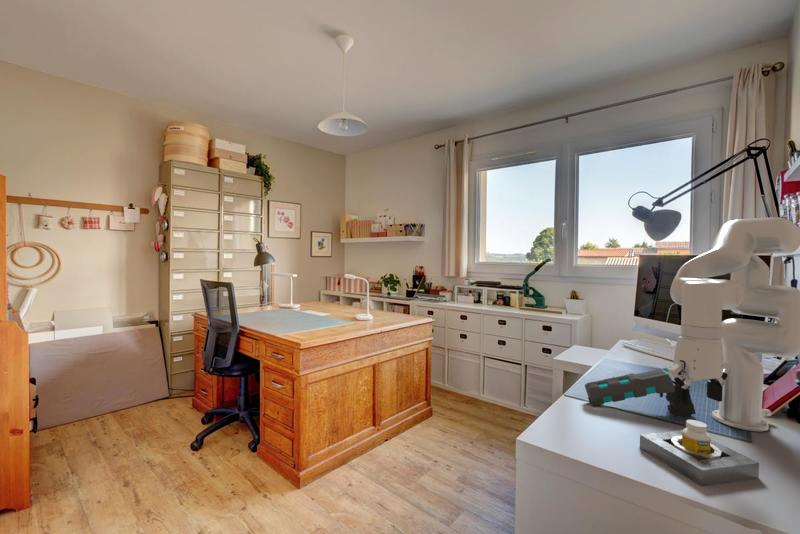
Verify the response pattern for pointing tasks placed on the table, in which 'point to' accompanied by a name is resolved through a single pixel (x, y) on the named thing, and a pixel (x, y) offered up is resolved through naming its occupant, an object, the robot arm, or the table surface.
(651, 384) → the gun
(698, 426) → the supplement bottle
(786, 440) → the table surface
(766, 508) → the table surface
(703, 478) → the bore block
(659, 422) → the table surface
